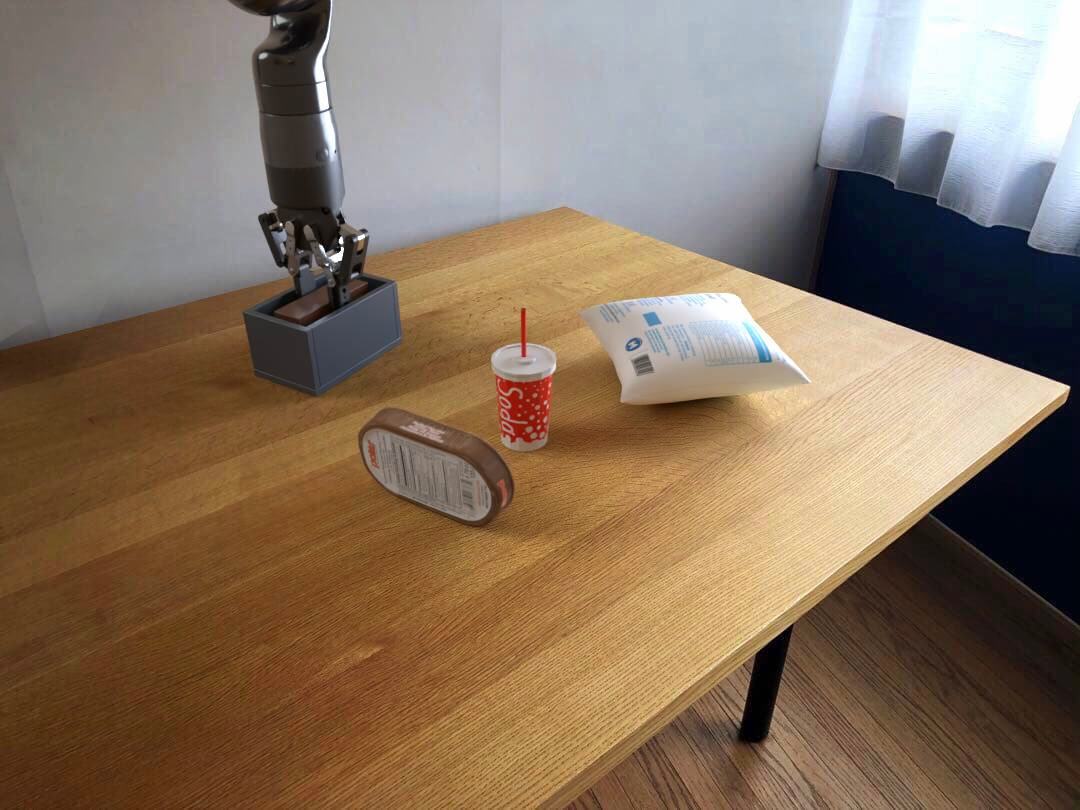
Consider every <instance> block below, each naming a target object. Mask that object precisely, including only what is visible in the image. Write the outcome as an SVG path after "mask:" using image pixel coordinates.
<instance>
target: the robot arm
mask: <svg viewBox="0 0 1080 810" xmlns="http://www.w3.org/2000/svg"><path fill="white" fill-rule="evenodd" d="M226 1H227V2H228V3H229V4H231V5H232V6H234V7H236V8H237V9H240V10H241V11H243V12H246V14H247V13H248V14H250V15H253V16H255V17H256V16H257V17H265V18H269V30H268V34H267V36H266V38H265V39H264V40H263V41H262V42H261V43H259V44H258V45H257V46H256V47H255V48H254V49H253V51H252V54H251V71H252V72H251V73H252V80H253V85H254V91H255V98H256V103H257V109H258V117H259V118H258V120H259V121H258V123H259V125H258V126H259V128H258V129H259V138H260V143H261V144H260V145H261V150H262V157H263V162H264V169H265V175H266V180H267V181H266V182H267V186H268V192H269V199H270V201H271V203H272V204H273V205H275V206H276V208H274V209H270V210H267V211H265V212H262V213H261V214H259V215H258V216H257V220H258V223H259V226H260V227H261V231H262V233H263V235H264V238H265V240H266V243H267V246H268V247H269V251H270V253H271V255H272V258H273V260H274V262H275V265H276V266H277V267H278V268H280V269H282V268H285V269H287V271H288V274H289V276H291V277H292V278H293V280H292V281H293V286H295V291H296V297H297V300H298V299H300V298H302V297H304V296H306V295H308V294H310V293H312V292H313V291H315V290H316V284H315V277H314V276H315V272H314V271H312V270H311V269H312V267H313V258H314V260H315V263H316V265H317V266H318V267H319V268H321V269H322V272H324V275H325V278H326V281H327V284H328V286H327V293H328V300H329V307H330V314H331V313H332V312H334V311H336V310H338V309H340V308H342V307H343V306H345V305H347V304H349V303H350V297H349V288H348V283H350V282H352V281H354V280H356V279H358V278H360V277H362V275H363V273H364V270H365V269H364V268H365V263H366V258H367V253H368V252H367V251H368V248H369V241H370V232H369V231H368V230H367V228H364V227H363V228H360V229H359V230H358V229H356V228H354V227H353V226H351V225H349V224H348V221H347V218H346V215H345V213H344V211H343V207H342V206H343V201H344V198H345V196H346V188H345V187H346V186H345V178H344V170H343V162H342V153H341V143H340V135H339V131H338V130H339V129H338V124H337V121H336V117H335V112H334V107H333V98H332V91H331V81H330V73H329V68H328V54H329V53H328V52H329V46H330V41H331V30H332V21H333V20H332V18H333V8H334V7H333V6H334V0H226ZM281 244H283V247H284V248H285V253H283V250H282V247H281ZM331 251H332V252H331ZM330 252H331V253H330ZM327 253H330V254H327ZM334 264H335V266H336V267H337V270H338V272H336V273H335V271H334V268H333V267H334Z"/></svg>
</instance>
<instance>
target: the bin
mask: <svg viewBox="0 0 1080 810" xmlns="http://www.w3.org/2000/svg"><path fill="white" fill-rule="evenodd" d="M333 268H334V271H335V273H336V272H338V270H337V267H336V265H333ZM314 277H315V284H316V290H317V289H319V288H321V287H323V286H325V285H327V281H326V278H325V275H324V272H323V271H322V272H320V273H318V274H315V275H314ZM357 280H361V281H364V282H367V284H368V293H367V294H365V295H364V296H362V297H360V298H358V299H356V300H354V301H353V302H351V303H349V304H347V305H345V306H343V307H342V308H340V309H338V310H336V311H334V312H332V313H331V314H329V315H327V316H325V317H323V318H321V319H320V320H318V321H316V322H314V323H312V324H310V325H309V326H307V327H304V326H301V325H298V324H295V323H291V322H288V321H285V320H282V319H278V318H275V314H274V311H276V310H278V309H280V308H282V307H284V306H286V305H288V304H290V303H292V302H294V301H296V300H297V297H296V291H295V286H294V285H293V286H291V287H290V288H287V289H285V290H283V291H281V292H279V293H277V294H275V295H273V296H271V297H269V298H267V299H265V300H263V301H260V302H259V303H256V304H255V305H252V306H251V307H248V308H247V309H245V310H243V311H242V316H243V322H244V327H245V332H246V336H247V337H246V338H247V342H248V347H249V352H250V358H251V362H252V363H251V364H252V367H253V373H254V376H256V377H259V378H262V379H264V380H266V381H269V382H273V383H276V384H278V385H280V386H284V387H286V388H289V389H291V390H295V391H297V392H301V393H304V394H306V395H308V396H312V397H314V398H317V397H319V396H320V395H322V394H324V393H326V392H327V391H328V390H330V389H331V388H333V387H334V386H336V385H338V384H339V383H341V382H343V381H344V380H345V379H347V378H349V377H350V376H352V375H353V374H355V373H357V372H358V371H359V370H361V369H363V368H364V367H366V366H368V365H369V364H371V363H372V362H374V361H375V360H378V358H380V357H382V356H384V355H385V354H386V353H388V352H390V351H392V350H393V349H394V348H396V347H397V346H399V345H401V344H402V343H403V333H402V323H401V313H400V312H401V311H400V302H399V301H400V300H399V290H398V289H399V288H398V281H397V280H393V279H389V278H385V277H381V276H378V275H373V274H369V273H367V272H363V275H362V277H360V278H358V279H357Z"/></svg>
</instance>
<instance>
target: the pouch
mask: <svg viewBox="0 0 1080 810" xmlns="http://www.w3.org/2000/svg"><path fill="white" fill-rule="evenodd" d="M576 314H577V315H578V316H579V318H580V319H581V320H582V321H583V323H584V324H585V325H586V326H587V328H588V329H589V330H590V331H591V332H592V334H593V335H594V336H595V337H596V339H597V340H598V342H599V343H600V346H602V348H603V350H604V351H605V353H606V355H607V356H608V357H609V358H610V359H611V361H612V362H613V365H614V368H615V372H616V375H617V377H618V379H619V382H620V384H621V393H620V397H619V402H620V403H622V404H627V405H633V406H643V405H645V406H647V405H656V404H657V405H659V404H668V403H678V402H687V401H693V400H701V399H710V398H719V397H720V398H721V397H733V396H735V397H736V396H742V395H750V394H759V393H760V394H761V393H768V392H775V391H781V390H788V389H793V388H796V387H802V386H805V385H808V384H812V381H811V379H809V378H808V376H807V375H806V374H805V373H804V372H803V371H802V370H801V369H800V368H799V367H798V365H797V364H795V362H794V361H793V360H792V359H791V358H790V357H789V356H788V355H787V354H786V353H785V351H783V350H782V349H781V347H780V346H778V344H777V343H776V342H775V341H774V340H773V339H772V337H770V335H768V333H766V332H765V331H764V330H763V329H762V328H761V326H759V324H757V323H756V321H754V319H753V318H752V316H751V314H750V313H749V312H748V310H747V309H746V307H745V306H744V304H742V302H741V298H739V297H738V296H736V295H735V294H732V293H725V292H709V293H706V292H705V293H704V292H702V293H688V294H680V295H678V294H677V295H669V296H668V295H667V296H655V297H654V296H653V297H642V298H641V297H640V298H634V299H625V300H618V301H617V300H616V301H611V302H606V303H600V304H596V305H592V306H589V307H587V308H584V309H582V310H579V311H577V312H576Z"/></svg>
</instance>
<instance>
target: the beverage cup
mask: <svg viewBox="0 0 1080 810" xmlns="http://www.w3.org/2000/svg"><path fill="white" fill-rule="evenodd" d="M490 365H491V370H492V372H493V374H494V379H495V380H494V381H495V391H496V402H497V412H498V422H499V431H500V441H501V443H502V444H503V446H504V447H506V448H508V449H509V450H511V451H516V452H532V451H537V450H539V449H541V448H542V447H544V446H546V443H547V442H548V439H549V438H548V437H549V426H550V425H549V424H550V415H551V414H550V412H551V399H552V391H553V388H552V387H553V379H554V378H553V376H554V372H555V371H556V370H557V355H556V353H555V352H554V351H553V350H552V349H551V348H548V347H546V346H544V345H543V344H536V343H531V342H528V343H527V309H526V307H521V308H520V342H516V343H512V344H506V345H504V346H501V347H499V348H498V349H496V350H495V351H494V352H493V353H492V354H491V359H490Z"/></svg>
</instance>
